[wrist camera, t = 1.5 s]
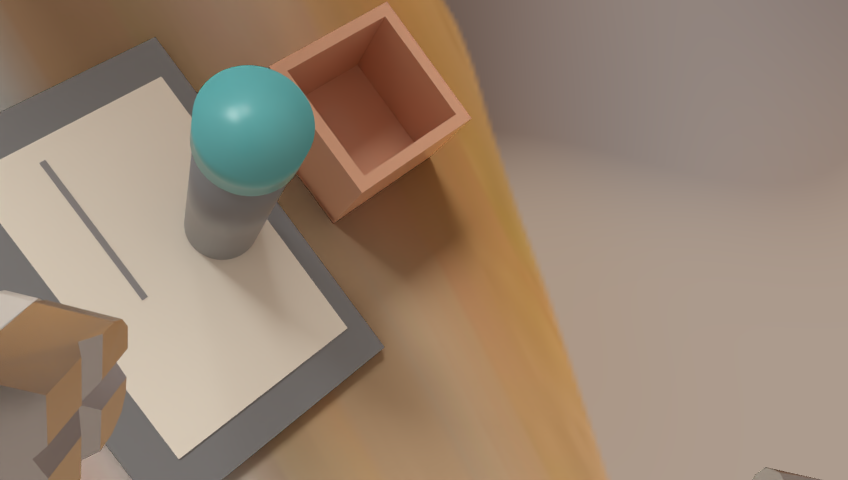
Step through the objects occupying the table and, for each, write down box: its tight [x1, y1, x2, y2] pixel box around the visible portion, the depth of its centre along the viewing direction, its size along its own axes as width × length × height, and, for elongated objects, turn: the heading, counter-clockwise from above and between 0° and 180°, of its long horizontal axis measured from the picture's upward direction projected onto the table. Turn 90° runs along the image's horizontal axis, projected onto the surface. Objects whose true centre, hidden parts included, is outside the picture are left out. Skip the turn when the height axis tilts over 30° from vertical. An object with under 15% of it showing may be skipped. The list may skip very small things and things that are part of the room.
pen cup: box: [269, 2, 471, 223], centre depth 36 cm, size 7×7×6 cm
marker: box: [184, 65, 315, 260], centre depth 28 cm, size 4×4×14 cm
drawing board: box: [0, 37, 384, 480], centre depth 33 cm, size 20×13×1 cm, turn 39°
